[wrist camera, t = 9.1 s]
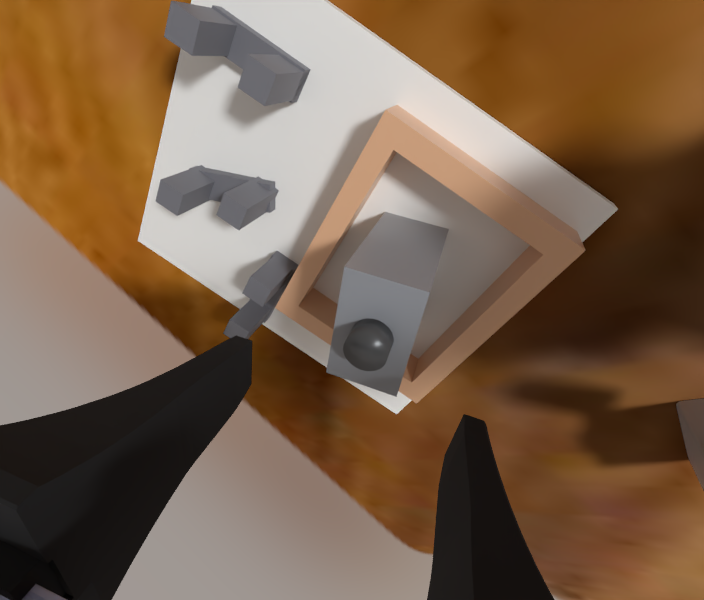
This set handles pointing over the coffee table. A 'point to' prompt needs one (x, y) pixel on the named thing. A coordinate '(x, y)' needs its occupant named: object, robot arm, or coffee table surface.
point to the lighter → (693, 433)
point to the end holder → (476, 188)
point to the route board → (321, 164)
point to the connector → (384, 301)
